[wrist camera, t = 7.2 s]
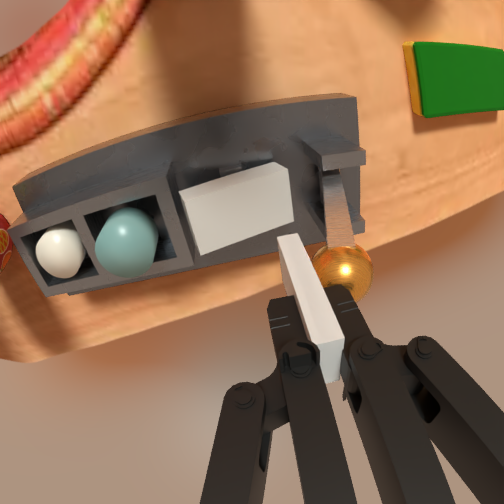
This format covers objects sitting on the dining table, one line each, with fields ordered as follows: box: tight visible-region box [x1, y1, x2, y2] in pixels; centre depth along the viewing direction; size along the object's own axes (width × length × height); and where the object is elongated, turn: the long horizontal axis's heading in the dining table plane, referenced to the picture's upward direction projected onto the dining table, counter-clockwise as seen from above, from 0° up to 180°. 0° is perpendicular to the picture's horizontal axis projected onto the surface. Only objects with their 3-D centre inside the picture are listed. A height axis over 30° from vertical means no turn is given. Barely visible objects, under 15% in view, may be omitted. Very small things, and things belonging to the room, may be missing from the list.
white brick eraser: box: [179, 162, 294, 255], centre depth 20 cm, size 7×4×2 cm, turn 100°
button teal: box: [95, 207, 159, 278], centre depth 19 cm, size 4×4×2 cm
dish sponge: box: [402, 42, 504, 118], centre depth 20 cm, size 7×14×2 cm, turn 106°
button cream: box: [36, 220, 87, 278], centre depth 20 cm, size 4×4×2 cm
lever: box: [311, 167, 374, 303], centre depth 17 cm, size 3×3×13 cm
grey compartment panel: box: [7, 93, 366, 297], centre depth 22 cm, size 28×12×7 cm, turn 100°
